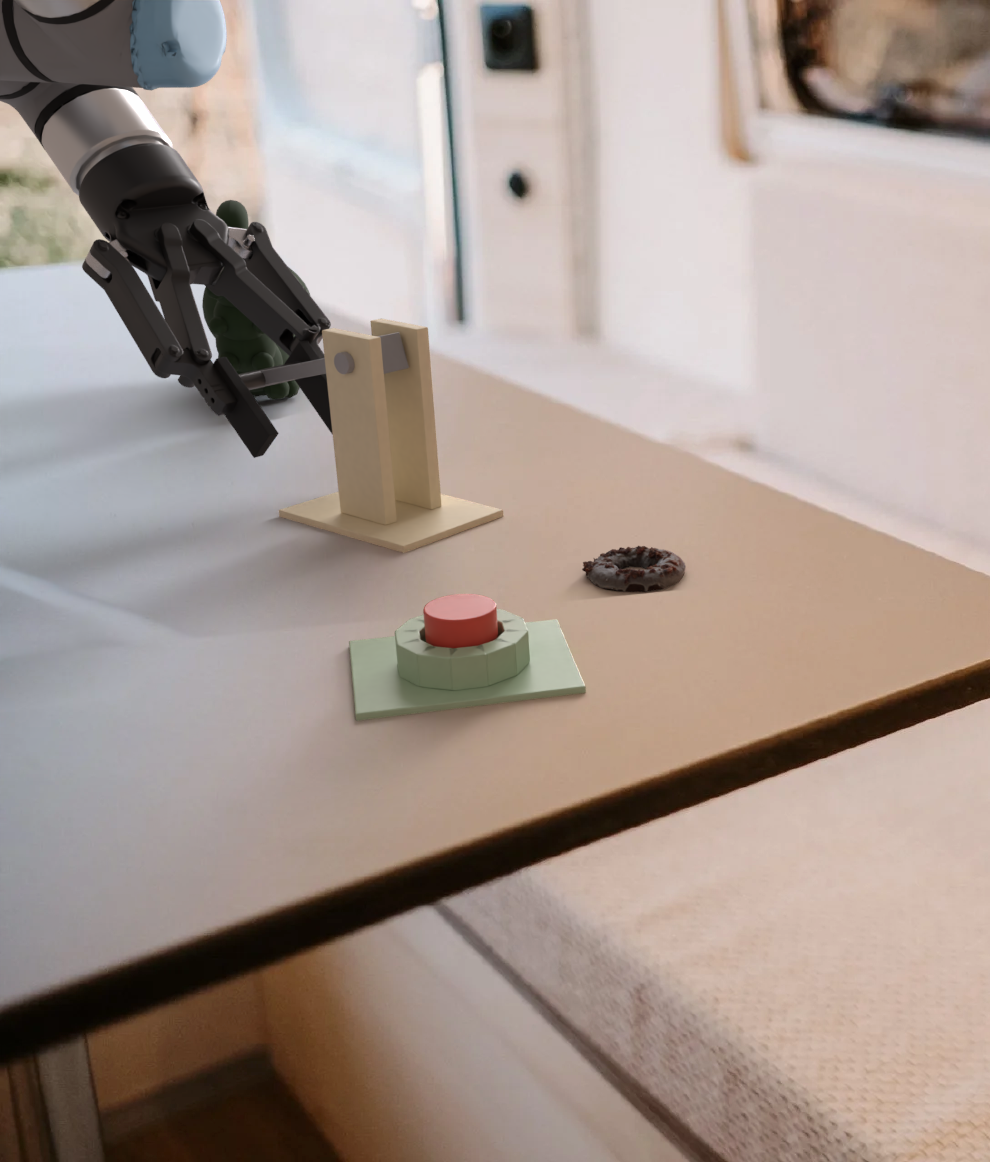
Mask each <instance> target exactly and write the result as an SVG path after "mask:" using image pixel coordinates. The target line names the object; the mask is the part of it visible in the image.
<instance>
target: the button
mask: <svg viewBox="0 0 990 1162" xmlns="http://www.w3.org/2000/svg"><path fill="white" fill-rule="evenodd" d="M497 609H498V608H497V603H496V602H495V600H494V599H492V598H491V597H489V596H486V595H482V594H477V593H476V594H475V593H456V594H455V593H453V594H448V595H444V596H440V597H437V598H434V599H432V600H430V601H429V602H427V603H426V604H425V605H424V606H423V611H422V613H423V614H422V615H424V626H425V638H426V642H427V643H428V644H430V645H433V646H436V647H445V648H461V647H470V646H479V645H482V644H485V643H487V642H490V641H493V640H496V639H497V637H498V623H497Z"/></svg>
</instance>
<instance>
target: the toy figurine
mask: <svg viewBox="0 0 990 1162" xmlns="http://www.w3.org/2000/svg"><path fill="white" fill-rule="evenodd" d="M215 215H216V216H218V217H219V218H220V219H222V220H223V221H224V222H225V223H226V224H227V226H228V227H233V228H241V229H248V227H249V225H250V223H249V214H248V211H247V208H246V207H245V205H244V204H242V202H240V201H238V200H234V199H228V200H225V201H223V202H222V203H220V204H219V206H218V207H217V209H216V213H215ZM288 268H289V269H290V270H291V271H292V273H293V274H294V275H295V277H296V278H297V279H298V281H299V282H300V283H301V284H302V286H303V287H304V288H305V290H306V291H307V292H308V293H309V295H310V296H311V292H310V289H309V288H308V286H307V284H306V283H305V281H304V280H303V279H302V278H301V277H300V275H299V274H297V273H296V271H294V270H293V269H292V268H291V267H289V266H288ZM224 269H225V267H224ZM224 269H223V270H224ZM223 270H222V272H223ZM222 272H221V274H222ZM221 274H220V275H219V276H221ZM201 306H202V307H201V308H202V313H203V319H204V321H205V323H206V326H207V328H208V331H210V333H211V334H212V336H213V337H214V339H215V348H216V352H217V354H218V355H217V358H222V357H227V359H228V360H229V362H230V363H231V365H232V366H233V367H234V369H235V370H236V372H237V373H238V374H242V373H247V372H251V371H256V370H261V369H265V368H270V367H275V366H279V365H284V364H285V362H286V361H287V359H288V358H289V355H288V354H287V353H286V352H284V351H283V350H282V349H281V348H280V347H279V346H278V345H277V344H276V343H275V342H273V341H272V340H271V339H270V338H269V337H268V336H267V335H266V334H265V333H264V332H263V331H261V330H260V329H259V328H258V327H257V326H256V325H255V324H254V323H253V322H252V321H250V320H249V319H248V318H247V317H246V316H245V315H244V314H243V313H242V312H241V311H239V310H238V309H237V308H236V307H235V306H234V305H233V304H232V303H231V302H230V301H229V300H227V299H226V298H225V297H224V296H216V295H215V294H214V293H212V292H211V291H210V290H209V289H208V288H207V287H206V286H204V291H203V294H202V304H201ZM293 336H294V337H295V335H293ZM299 390H300V387H299V386H298V384H297V383H296V381H295V380H291V381H287V382H283V383H278V384H274V385H269V386H265V387H261V388H256V389H252V390H249V391H250V392H251V394H252V395H253V397H264V396H267V398H268V399H271V400H281V399H282V400H283V399H291V398H293V397H295V396H296V395H298V393H299Z"/></svg>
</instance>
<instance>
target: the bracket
mask: <svg viewBox="0 0 990 1162" xmlns="http://www.w3.org/2000/svg"><path fill="white" fill-rule="evenodd" d="M369 323H370V330H371V331H370V333H371V334H367V333H360V332H356V331H351V330H346V329H340V328H337V327H330V328H329V329H326V330H322V337H323V338H322V346H323V353H324V356H325V366H326V376H327V385H328V395H329V404H330V414H331V424H332V433H333V435H332V443H333V451H334V461H335V471H336V480H337V491H335V492H332V493H329V494H325V495H322V496H319V497H316V498H313V499H310V500H306V501H303V502H300V503H297V504H293V505H290V506H286V507H283V508H280V509H278V516H279V518H283V519H285V520H289V521H293V522H296V523H300V524H303V525H307V526H310V527H313V528H317V529H320V530H324V531H326V532H327V531H328V532H330V533H333V534H334V533H335V534H338V535H341V536H344V537H348V538H350V539H354V540H358V541H362V542H364V543H368V544H371V545H375V546H379V547H381V548H385V549H388V550H393V551H396V552H399V553H402V554H403V553H404V554H405V553H408V552H410V551H413V550H416V549H418V548H422V547H424V546H427V545H430V544H432V543H435V542H437V541H440V540H443V539H446V538H449V537H451V536H454V535H456V534H460V533H462V532H464V531H467V530H470V529H472V528H475V527H478V526H481V525H484V524H486V523H489V522H492V521H494V520H497V519H499V518H503V517H504V510H503V509H501V508H498V507H494V506H491V505H486V504H482V503H479V502H475V501H471V500H467V499H463V498H459V497H456V496H451V495H447V494H444V493H442V492H441V480H440V478H441V477H440V465H439V453H438V441H437V440H438V439H437V428H436V427H437V426H436V412H435V402H434V388H433V375H432V363H431V349H430V336H429V335H430V334H429V327H428V326H424V325H419V324H415V323H414V324H413V323H409V322H403V321H397V320H392V319H387V318H377V319H372V320H371V319H370V322H369ZM397 332H399V333H400V336H401V340H402V344H403V347H404V351H405V355H406V358H407V362H408V365H409V368H407V369H403V370H399V371H395V372H390V373H386V374H384V371H383V360H382V349H381V338H380V337H378V336H382V335H387V334H392V333H397ZM332 433H331V434H332Z"/></svg>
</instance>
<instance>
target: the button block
mask: <svg viewBox="0 0 990 1162" xmlns="http://www.w3.org/2000/svg"><path fill="white" fill-rule="evenodd" d="M497 623H498V637H497V639H496V640H493V641H490V642H487V643H485V644H482V645H479V646H470V647H461V648H445V647H436V646H433V645H430V644H428V643H427V642H426V638H425V626H424V614H421V615H418V616H414V617H412V618H409V619H408V620H406V621H405V622H404V623H403V624H402V625H400V626H399V627H398V628H397V629H396V630H394V635H393V636H382V637H374V638H364V639H363V638H362V639H354V640H353V639H352V640H349V641H348V648H349V649H348V650H349V657H350V670H351V671H350V672H351V681H352V682H351V683H352V691H353V704H354V715H355V721H357V722H358V721H364V720H365V721H366V720H374V719H381V718H390V717H398V716H407V715H416V714H423V713H424V714H425V713H431V712H440V711H449V710H456V709H463V708H465V709H466V708H474V707H480V706H481V707H482V706H487V705H488V706H489V705H496V704H497V705H498V704H505V703H513V702H521V701H523V702H524V701H530V700H537V699H545V698H554V697H562V696H564V697H565V696H572V695H579V694H585V693H587V686H586V684H585V682H584V680H583V677H582V675H581V673H580V670H579V667H578V665H577V663H576V660H575V658H574V655H573V654H572V651H571V649H570V646H569V644H568V642H567V639H566V637H565V634H564V632H563V630H562V627H561V625H560V623H559V620H558V619H557V618H555V619H545V620H536V621H525V619H524V618H523V617H522V616H520V615H517V614H515V613H513V612H510V611H507V610H506V609H503V608H497Z"/></svg>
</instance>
